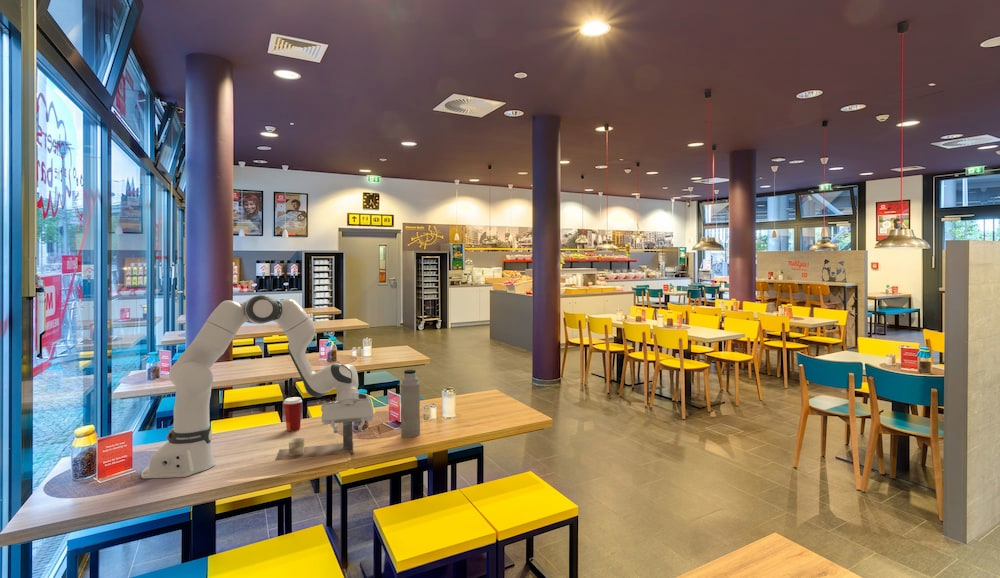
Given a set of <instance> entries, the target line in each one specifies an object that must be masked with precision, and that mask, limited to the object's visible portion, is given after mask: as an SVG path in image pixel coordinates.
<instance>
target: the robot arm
mask: <svg viewBox="0 0 1000 578" xmlns="http://www.w3.org/2000/svg"><path fill="white" fill-rule="evenodd" d="M270 322H275V323H277V325H279V326H280V328H281V330H282V331H283V332H284V333H285V335H286V337H287V340H288V344H287V352H288V354H289V356H290V358H291V361H292V363H293V364H294V366H295V368H296V370H297V373H298V374H299V376H300V378H301V380H302V383H303V387H304V389H305V391H306V393H307V394H308V395H309V396H312V397H314V398H322V397H323V396H324V395H326V394H328V392H331V391H332V390H334V389H335V390H336V391H337V393H336V401H326V402H324V403H322V405H321V406H320V407H321V408H320V410H321V423H322V424H323V425H330V427H331V428H332V429H333V434H337V433H338V432H339V431H338V426H335V424H343V422H351V421H352V423H353V422H354V423H355V422H360V424H358V426H357V427H358V429H357V430H358V431H363V426H364V425H365V422H366V421H367V422H368V421H372V420H373V419H374V408H373V404H372V402H371V400H370V395H369V394H366V393H361V392H359V390H358V388H359V375H358V372H357V371H358V370H357V368H356V366H354V365H352V364H348V363H347V364H346V363H345V364H342V363H340V362H333V363H331V364H329V365H327V366H325V367H323V368H322V369H320V370H318V371H314V369H313V367H312V365H311V363H310V361H309V360H308V357H307V354H306V351H307V348H308V346H309V345H310V344H311V343H312V341H313V340H314V338H315V336H316V326H315V323H314V321H313V320H312V319H311V317H310V316H309V314H308V312H306V310H305V309H304V308H303V307H302V306H301V305H300V304H299V303H298V301H296V300H295V299H292V298H287V299H282V300H280V301H279V300H277V299H274V298H273V297H270V296H268V295H265V294H260V295H255V296H252V297H250V298H249V299H247V300H246V301H244V302H242V303H241V302H238V301H235V300H229V299H228V300H224V301H222V302H220V303H219V304H218V306H216V308H215V309H214V310H213V311H212V312H211V314H210V315H209V317H207V319H206V321H205V323H204V324H203V326H202V327H201V328H200V330H199V332H197V334H196V336H195V338H194V339H193V340H192V342H191V343H190V344H189V345H188V347H187V348H186V349H185V350H184V351H183V352H182V353H181V355H180V356H179V357H178V358H177V360H176V361H175V362H174V363H173V364H172V366H170V369H169V374H168V375H169V380H170V382H171V383H172V384H173V385H174V386H175V401H174V407H173V428H172V429H171V430H169V433H168V434H167V435H166V440H167V442H166V443H164V444H163V445H162V446H161V447H160V448H158V449H157V450H156V451H155V452H154V453H152V455H151V457H150V458H149V459H150V460H149V463H148V466H146V467H145V468H144V469H143V470H142V471H141V474H140V478H142V479H164V478H165V479H168V478H186V477H189V476H191V475H194V474H196V473H200V472H204V471H206V470H208V469H211V468H213V467H214V466H215V465H216V460H215V457H214V454H213V448H212V439H213V438H212V437H213V435H212V434H213V433H212V432H213V431H212V426H211V425H210V422H211V421H210V403H211V402H210V400H211V395H212V387H213V383H214V375H213V371H212V370H211V368H212V366H213V365H214V364H215V363H216V362H217V360H218V359H220V357H222V356H223V355H224V353H225V352H226V350H227V349H228V348H229V345H230V344H231V342H232V341H233V340H234V338H235V337H236V335H237V333H238V331H239V330H240V328H241V327H242V326H243V324H245V323H249V324H254V325H255V324H256V325H264V324H267V323H270Z"/></svg>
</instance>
